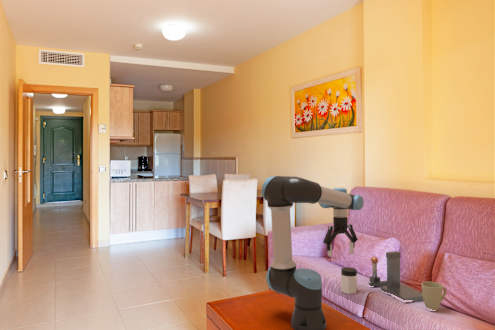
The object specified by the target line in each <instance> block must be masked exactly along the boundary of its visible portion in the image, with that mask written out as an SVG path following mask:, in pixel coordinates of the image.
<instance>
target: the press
mask: <svg viewBox="0 0 495 330" xmlns="http://www.w3.org/2000/svg"><path fill="white" fill-rule="evenodd" d="M401 255H402V254H401V252H400V251H397V250H395V251H387V252H385V258H386V280H382V281H381V280H380V283H377V284H373V283H371V282H368V284H369V285H370V286H379V287H380V291H381V290H382V291H384V292H387V293H390V294H393V295H395V296H397V297H399V298H401V299H403V300H413V301H418V302H424V300H423V296H422V291H419V290H417V289H414V288H412V287H410V286H408V285H405V284H403V283H402V284H401V273H400V272H401Z"/></svg>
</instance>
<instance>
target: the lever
mask: <svg viewBox="0 0 495 330" xmlns="http://www.w3.org/2000/svg"><path fill="white" fill-rule="evenodd" d="M370 262H371V264H372V265H371V267H372V269H371V272H372V275H370V276H369V283H373V284H377V283H380V281H381V277H379V276H378V262H379V258H378V257H377V256H372V257H371V258H370Z"/></svg>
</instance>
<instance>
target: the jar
mask: <svg viewBox="0 0 495 330" xmlns="http://www.w3.org/2000/svg"><path fill="white" fill-rule="evenodd" d="M340 270H341V271H340V272H341V273H340V275H341V277H340V283H341V284H340V287H341V288H340V289H341V293H344V294H347V295H354V294H357V292H358V271H357V269H356V268H355V267H342V268H341V269H340Z"/></svg>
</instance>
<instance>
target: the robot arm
mask: <svg viewBox="0 0 495 330" xmlns="http://www.w3.org/2000/svg"><path fill="white" fill-rule="evenodd" d="M261 197H262V198H263V199H264V200H265V201H266V204H267V207H268V208H269V210H270V212H271V231H272V232H271V235H272V252H273V254H272V255H273V261H272V262H271V263H270V267H268V268H267V272H266V275H265V280H266V284H267V286H268V288H269V289H270V290H272V291H274V292H275V293H277V294H282V295H284V296H287V297H291V298H293V299H294V308H293V311H292V315H291V319H290V326H291V327H292V329H294V330H326V329H327V319H326V317H325V314H324V311H323V294H322V293H323V290H322V287H323V283H322V277H321V276H322V275H321V274H320V273H319V272H318V271H316V270H313V269H311V268H305V267H301V268H297V264H296V262H295V261H294V260H293V246H292V225H291V208H292V207H293V206H294V204H316V203H318V205H319V206H320V207H321V208H322V209H332V210H333V211H332V213H333V214H332V216H333V218H332V219H333V220H332V222H333V223H332V224H333V225H328V227H327V231H326V234H325V237H324V239H323V244H324V245H326V251H327V256H328V257H330V258H332V257H333V245H332V242H334V240H335V238H336V236H337V235H339V234H344V235H345V236H346V237H347V238H348V239H349V242H348V243H349V245H348V246H349V254H350V255H354V254H355V253H354V250H355V243H356V242H358V240H359V239H358V237H357V234H356V232H355V230H354V228H353V227H354V226H353V224H352V223H348V220H349V219H348V217H347V216H348V210H352V211H360V210H362V209H363V208H364V197H363V196H361V195H360V194H351V193H348V189H347V188H346V187H334V188H333V189H332V188H329V187H325V186H323V185H322V186H321V185H320V184H319V183H318V182H315V181H312V180H309V179H306V178H303V177H300V176H299V177H298V176H284V175H282V176H281V175H273V176H269V177H267V178H266V179H265V181H264V182H263V184H262V187H261Z"/></svg>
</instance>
